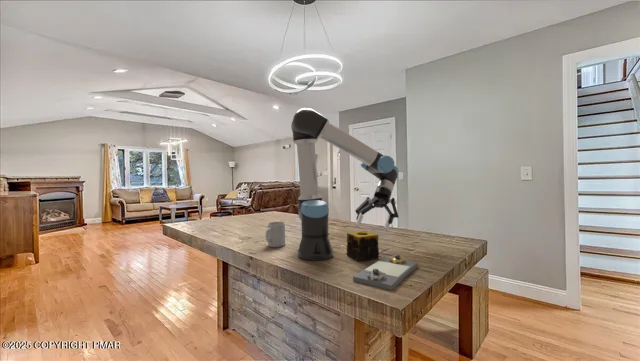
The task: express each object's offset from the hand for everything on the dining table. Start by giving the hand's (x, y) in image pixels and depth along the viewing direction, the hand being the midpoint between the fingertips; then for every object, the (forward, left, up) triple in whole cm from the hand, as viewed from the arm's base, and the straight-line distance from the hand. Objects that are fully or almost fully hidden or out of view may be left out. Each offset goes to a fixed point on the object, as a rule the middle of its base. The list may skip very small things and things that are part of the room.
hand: (370, 227), depth 120 cm
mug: (-46, -13, -12) cm, 49 cm away
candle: (-1, -6, -12) cm, 13 cm away
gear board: (+15, -18, -11) cm, 26 cm away
